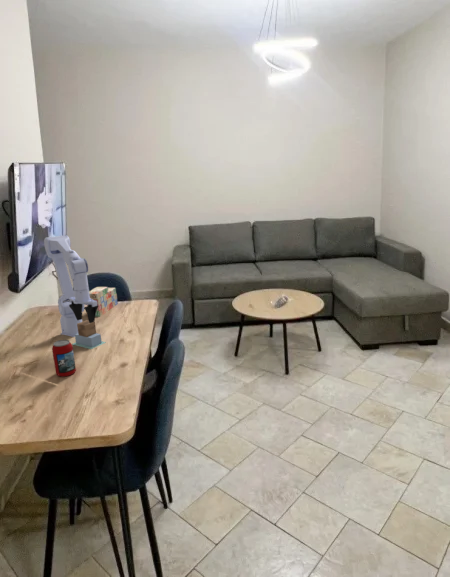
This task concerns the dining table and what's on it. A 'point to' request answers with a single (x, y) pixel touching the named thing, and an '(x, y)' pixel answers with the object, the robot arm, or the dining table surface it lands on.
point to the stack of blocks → (104, 299)
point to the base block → (88, 340)
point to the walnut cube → (86, 328)
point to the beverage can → (63, 358)
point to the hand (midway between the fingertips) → (85, 320)
